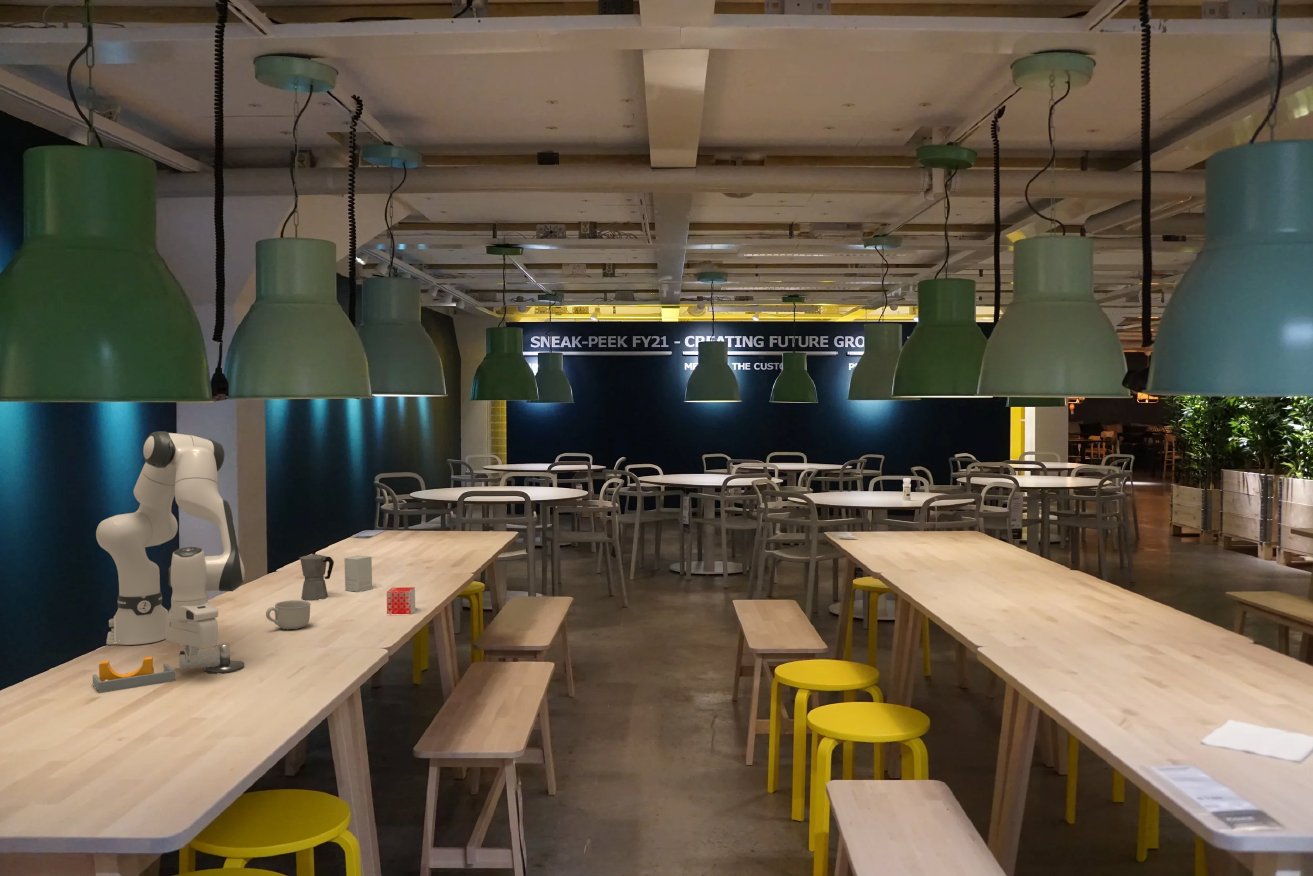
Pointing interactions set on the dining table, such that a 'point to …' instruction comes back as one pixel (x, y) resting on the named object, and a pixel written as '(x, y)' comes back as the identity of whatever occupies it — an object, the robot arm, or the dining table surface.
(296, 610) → the teacup
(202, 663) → the crank
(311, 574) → the coffeepot
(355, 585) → the supplement box
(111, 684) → the bay
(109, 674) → the pipe clamp
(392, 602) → the puzzle cube
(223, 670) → the crank base
